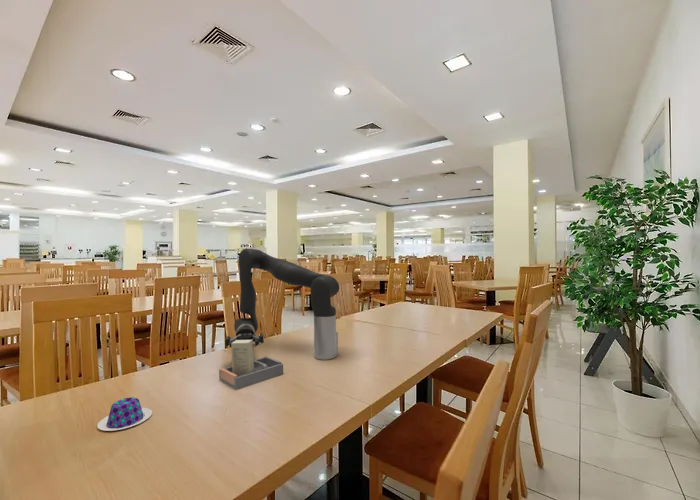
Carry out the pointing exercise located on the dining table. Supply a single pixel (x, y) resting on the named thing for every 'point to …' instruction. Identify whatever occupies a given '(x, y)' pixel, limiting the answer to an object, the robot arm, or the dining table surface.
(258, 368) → the bar
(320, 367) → the dining table surface
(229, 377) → the pusher lane
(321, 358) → the robot arm
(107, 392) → the dining table surface
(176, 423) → the dining table surface
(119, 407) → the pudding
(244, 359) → the skincare box
